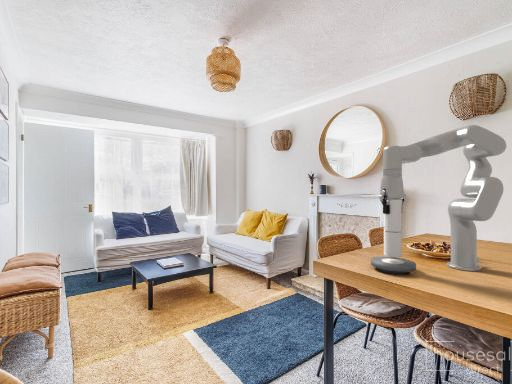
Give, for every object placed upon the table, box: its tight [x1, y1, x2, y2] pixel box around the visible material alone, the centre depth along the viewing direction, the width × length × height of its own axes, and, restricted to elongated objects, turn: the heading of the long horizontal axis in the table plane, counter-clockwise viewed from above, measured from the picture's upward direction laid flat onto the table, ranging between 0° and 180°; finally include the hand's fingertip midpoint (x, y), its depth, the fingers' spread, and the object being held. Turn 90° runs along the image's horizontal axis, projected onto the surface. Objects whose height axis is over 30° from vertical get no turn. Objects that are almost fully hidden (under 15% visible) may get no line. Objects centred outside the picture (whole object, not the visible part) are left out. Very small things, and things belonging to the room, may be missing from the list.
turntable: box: [370, 256, 417, 273], centre depth 120 cm, size 18×18×6 cm
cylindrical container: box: [383, 199, 403, 258], centre depth 120 cm, size 7×7×25 cm
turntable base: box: [377, 268, 409, 275], centre depth 120 cm, size 12×12×2 cm
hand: (392, 213), depth 121 cm, fingers closed on cylindrical container, 7 cm apart
